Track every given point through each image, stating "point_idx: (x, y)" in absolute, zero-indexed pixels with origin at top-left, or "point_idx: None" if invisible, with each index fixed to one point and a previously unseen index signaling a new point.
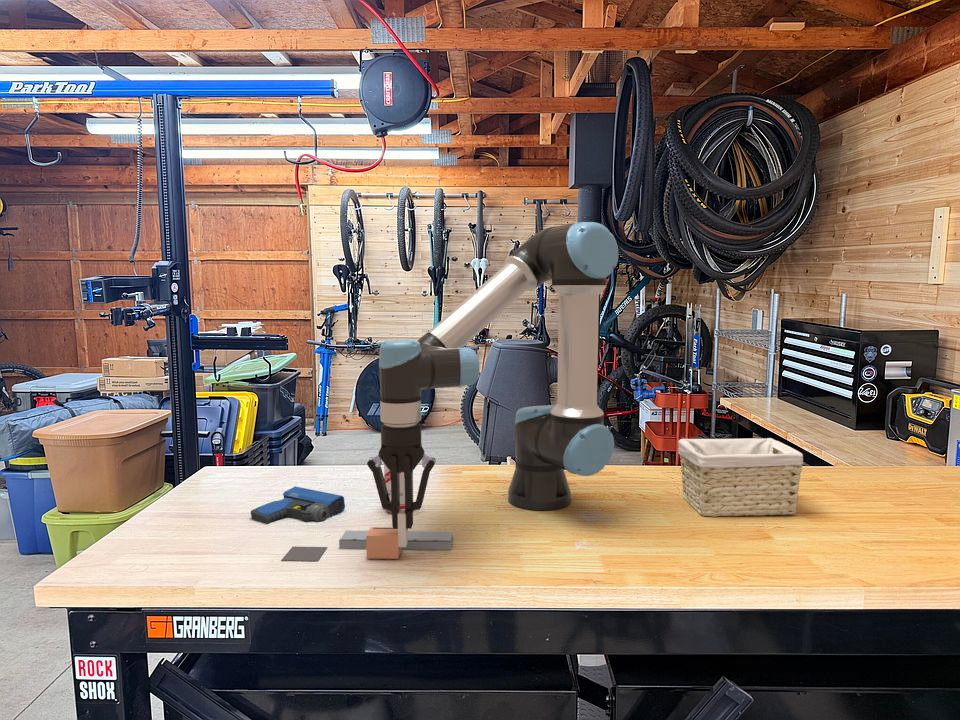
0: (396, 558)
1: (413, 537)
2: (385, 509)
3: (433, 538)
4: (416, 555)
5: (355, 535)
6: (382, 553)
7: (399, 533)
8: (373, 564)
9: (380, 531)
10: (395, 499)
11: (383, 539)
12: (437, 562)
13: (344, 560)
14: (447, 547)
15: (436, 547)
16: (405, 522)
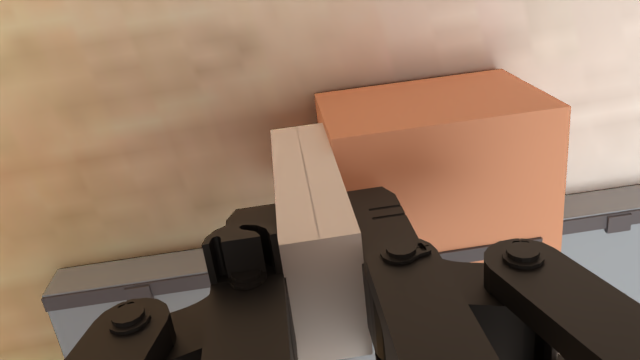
0: (324, 92)
1: None
2: (505, 243)
3: None
4: (227, 172)
5: (620, 279)
6: (415, 88)
7: (321, 157)
8: (444, 13)
9: (480, 200)
10: (422, 335)
11: (432, 116)
12: (68, 103)
13: (622, 40)
14: (69, 275)
15: (134, 265)
16: (275, 205)
